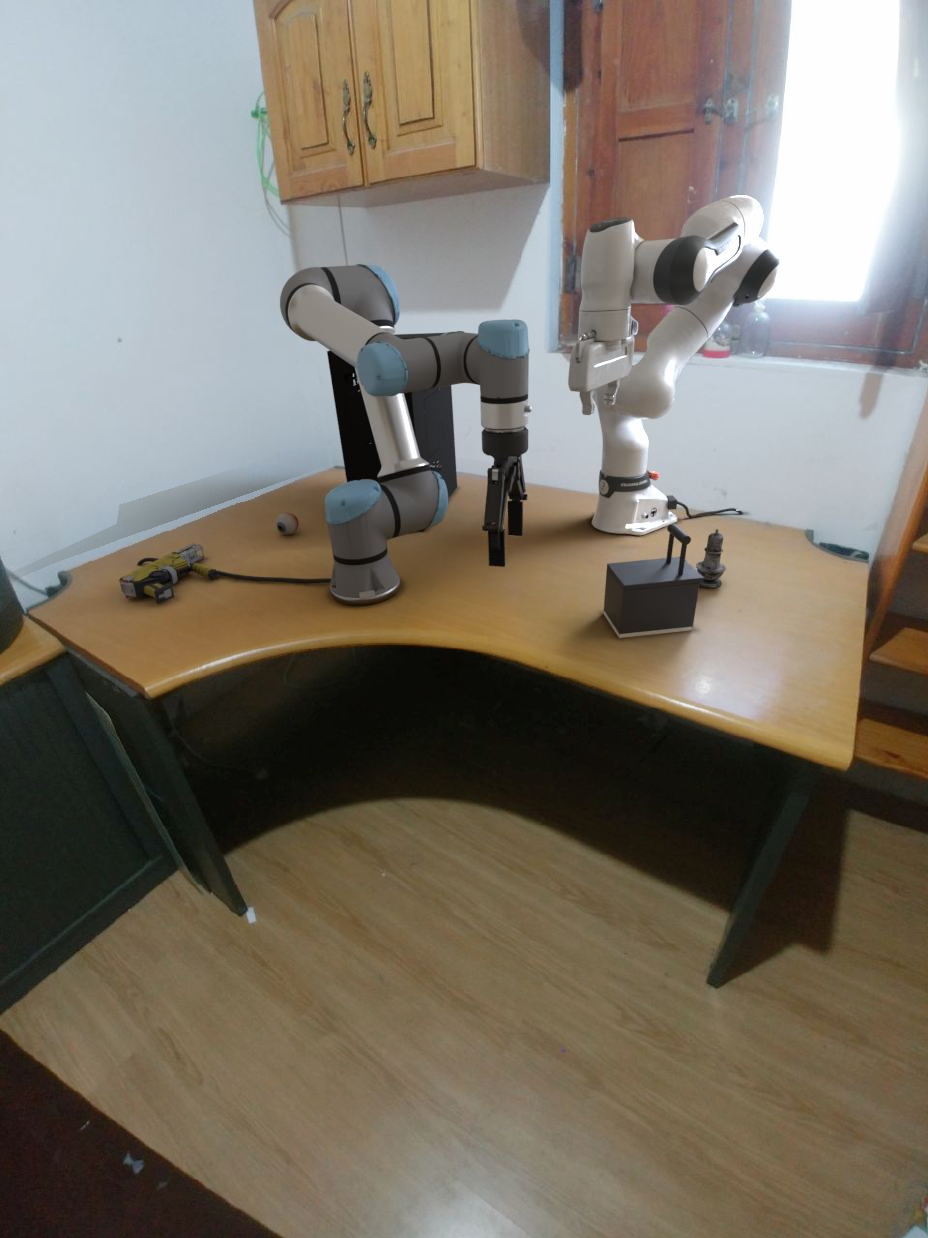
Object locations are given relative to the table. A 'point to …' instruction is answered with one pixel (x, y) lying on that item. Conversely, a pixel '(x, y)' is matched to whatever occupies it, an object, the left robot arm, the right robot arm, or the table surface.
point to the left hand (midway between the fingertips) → (506, 549)
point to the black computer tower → (426, 414)
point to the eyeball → (287, 523)
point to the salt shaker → (712, 561)
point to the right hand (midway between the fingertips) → (599, 409)
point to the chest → (649, 608)
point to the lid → (658, 567)
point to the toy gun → (164, 574)
